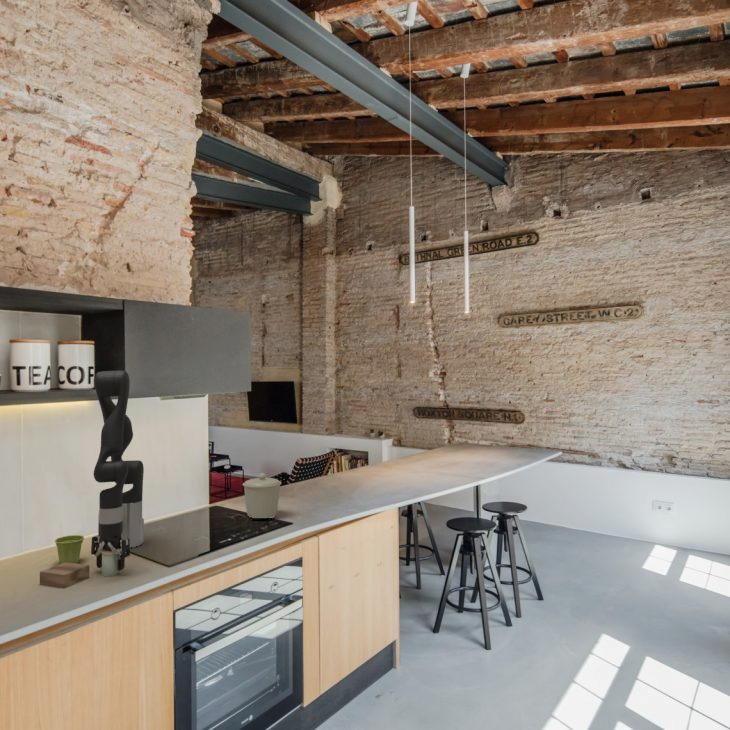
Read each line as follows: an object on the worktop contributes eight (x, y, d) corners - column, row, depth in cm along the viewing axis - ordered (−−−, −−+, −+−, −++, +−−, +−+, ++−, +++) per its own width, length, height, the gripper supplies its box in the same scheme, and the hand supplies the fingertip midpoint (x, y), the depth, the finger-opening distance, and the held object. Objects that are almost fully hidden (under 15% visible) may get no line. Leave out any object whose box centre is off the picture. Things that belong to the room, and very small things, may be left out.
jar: (109, 570, 188) (110, 547, 189) (122, 571, 187) (122, 548, 187) (97, 575, 183) (97, 551, 183) (110, 577, 182) (110, 553, 182)
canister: (254, 525, 246) (254, 478, 247) (235, 517, 260) (235, 473, 260) (288, 518, 258) (288, 473, 259) (268, 511, 272) (268, 468, 272)
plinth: (65, 574, 185) (65, 562, 185) (89, 577, 181) (89, 565, 182) (39, 584, 175) (39, 571, 175) (63, 588, 172) (64, 575, 172)
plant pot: (88, 558, 201) (89, 534, 201) (76, 567, 191) (76, 542, 191) (62, 559, 200) (63, 535, 200) (48, 567, 191) (49, 542, 191)
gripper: (135, 519, 187) (135, 567, 186) (102, 516, 191) (102, 563, 191) (119, 524, 180) (119, 574, 179) (85, 521, 184) (84, 570, 184)
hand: (110, 568), depth 185 cm, fingers open, 8 cm apart
